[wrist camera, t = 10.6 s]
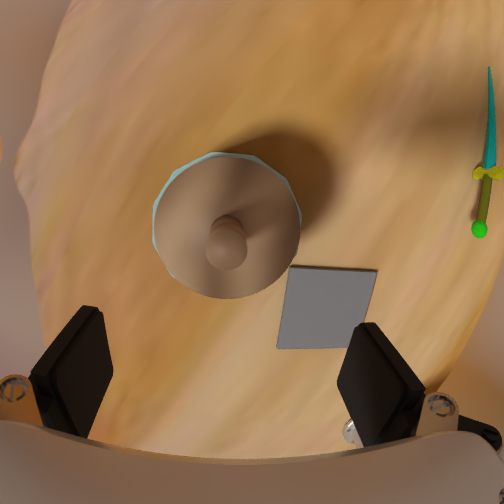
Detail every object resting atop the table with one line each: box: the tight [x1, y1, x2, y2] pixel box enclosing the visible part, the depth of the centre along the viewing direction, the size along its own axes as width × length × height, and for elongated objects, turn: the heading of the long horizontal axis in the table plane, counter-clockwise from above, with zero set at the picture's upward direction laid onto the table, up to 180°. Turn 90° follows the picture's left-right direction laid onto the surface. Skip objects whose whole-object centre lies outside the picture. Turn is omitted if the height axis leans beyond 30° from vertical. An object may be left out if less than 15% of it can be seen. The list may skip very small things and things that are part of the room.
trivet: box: [276, 266, 377, 349], centre depth 38 cm, size 12×12×1 cm
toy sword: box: [471, 67, 504, 238], centre depth 30 cm, size 3×6×30 cm
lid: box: [154, 157, 300, 299], centre depth 22 cm, size 12×12×6 cm
